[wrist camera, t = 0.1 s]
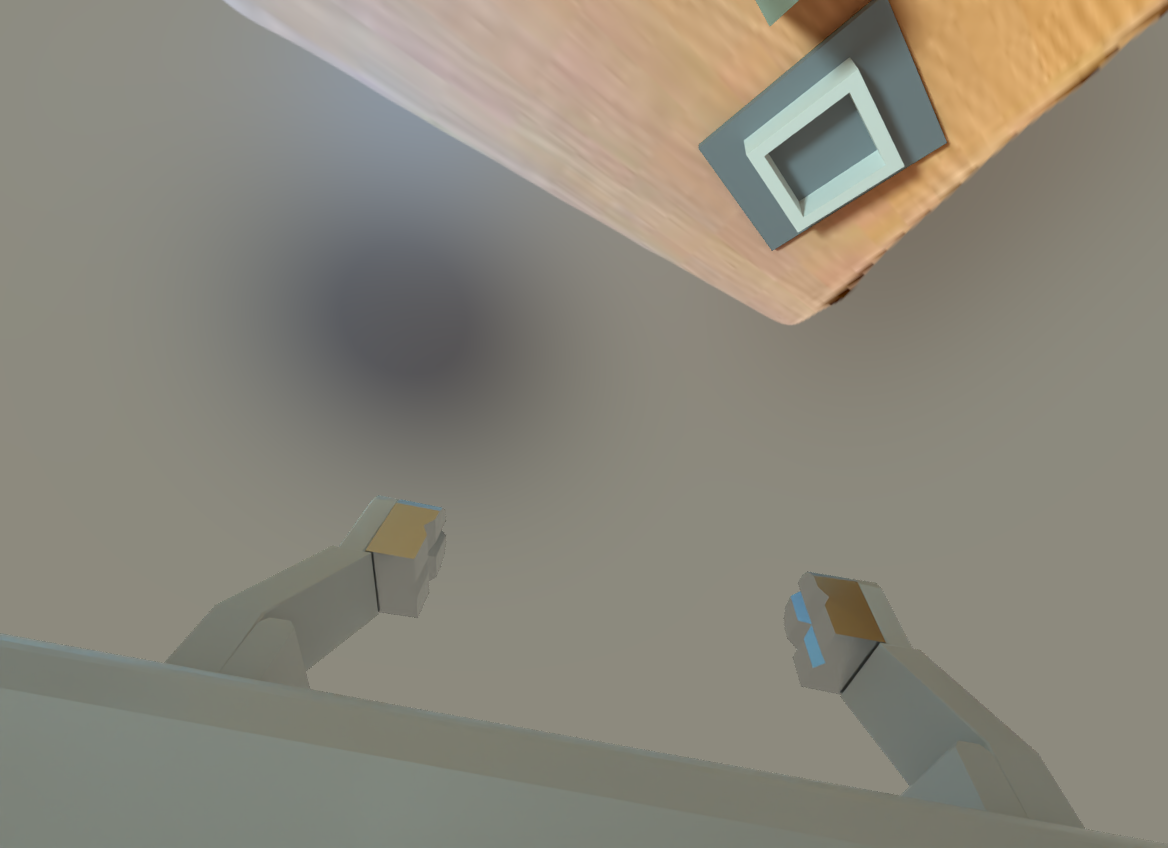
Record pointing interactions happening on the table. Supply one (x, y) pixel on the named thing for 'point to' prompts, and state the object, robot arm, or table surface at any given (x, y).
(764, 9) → the peg block
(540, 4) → the table surface
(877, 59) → the socket board
